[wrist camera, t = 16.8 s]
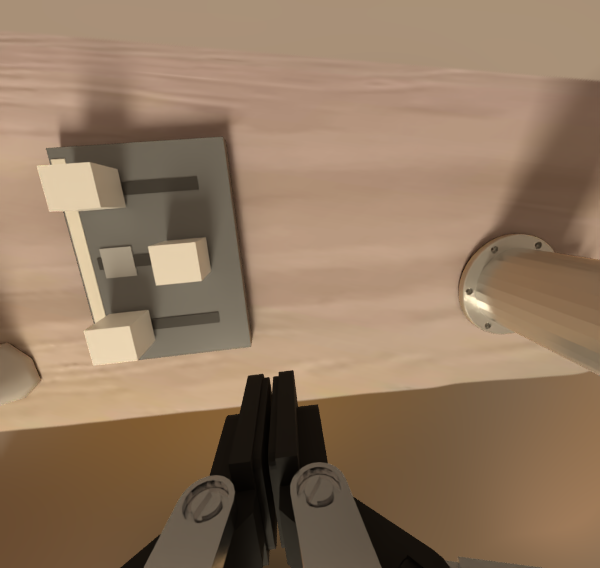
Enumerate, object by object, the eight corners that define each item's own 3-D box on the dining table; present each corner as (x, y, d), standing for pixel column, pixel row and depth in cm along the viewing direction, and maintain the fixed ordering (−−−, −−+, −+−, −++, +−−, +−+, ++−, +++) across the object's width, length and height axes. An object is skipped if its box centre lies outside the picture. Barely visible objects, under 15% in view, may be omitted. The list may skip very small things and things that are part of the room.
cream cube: (148, 309, 32) (129, 326, 27) (155, 340, 33) (137, 360, 28) (109, 314, 31) (83, 331, 27) (117, 344, 32) (93, 365, 28)
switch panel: (225, 141, 31) (222, 136, 28) (251, 339, 36) (250, 347, 34) (60, 152, 29) (44, 147, 27) (114, 355, 35) (104, 364, 33)
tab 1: (117, 169, 28) (89, 162, 24) (126, 207, 29) (100, 207, 25) (72, 172, 28) (36, 165, 23) (82, 211, 29) (49, 211, 24)
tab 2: (205, 237, 30) (195, 242, 26) (211, 270, 31) (201, 281, 27) (165, 240, 30) (147, 246, 26) (172, 274, 31) (156, 285, 27)
